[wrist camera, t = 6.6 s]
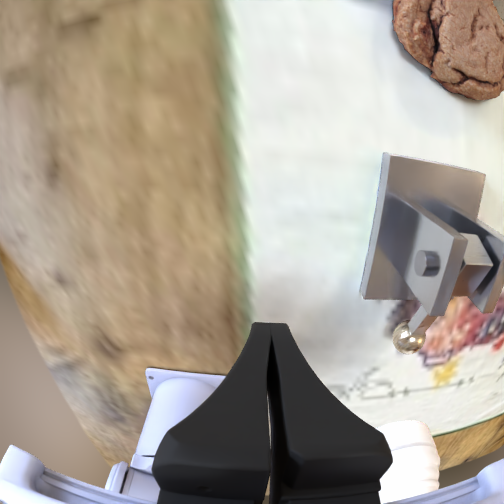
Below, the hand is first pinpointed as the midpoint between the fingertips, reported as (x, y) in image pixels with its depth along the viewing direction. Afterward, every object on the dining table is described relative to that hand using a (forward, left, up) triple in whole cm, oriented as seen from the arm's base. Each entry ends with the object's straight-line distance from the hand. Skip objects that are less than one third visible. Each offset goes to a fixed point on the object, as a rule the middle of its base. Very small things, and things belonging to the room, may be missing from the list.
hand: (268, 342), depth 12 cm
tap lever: (-1, -11, -7) cm, 13 cm away
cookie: (+17, -12, -10) cm, 23 cm away
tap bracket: (+2, -11, -9) cm, 15 cm away
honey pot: (-27, -17, -10) cm, 33 cm away
